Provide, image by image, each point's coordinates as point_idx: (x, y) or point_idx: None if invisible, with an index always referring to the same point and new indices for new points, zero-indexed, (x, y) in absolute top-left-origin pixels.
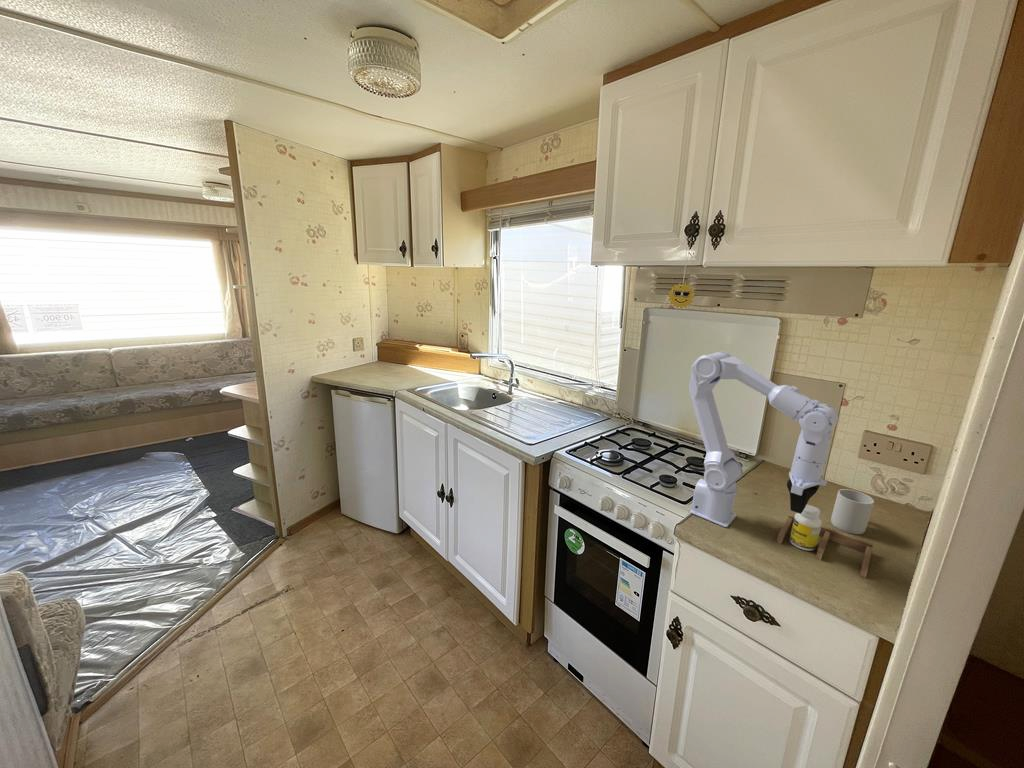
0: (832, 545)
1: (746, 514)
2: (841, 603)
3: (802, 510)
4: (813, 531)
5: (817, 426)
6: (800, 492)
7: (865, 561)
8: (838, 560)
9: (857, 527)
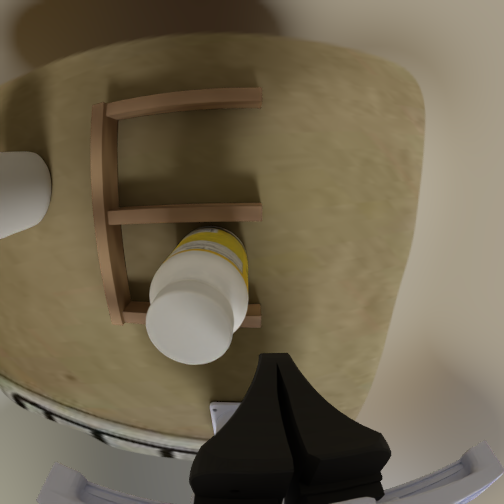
0: (143, 192)
1: (178, 387)
2: (417, 146)
3: (294, 363)
4: (236, 262)
5: None
6: (491, 454)
7: (211, 97)
8: (219, 162)
9: (34, 164)
